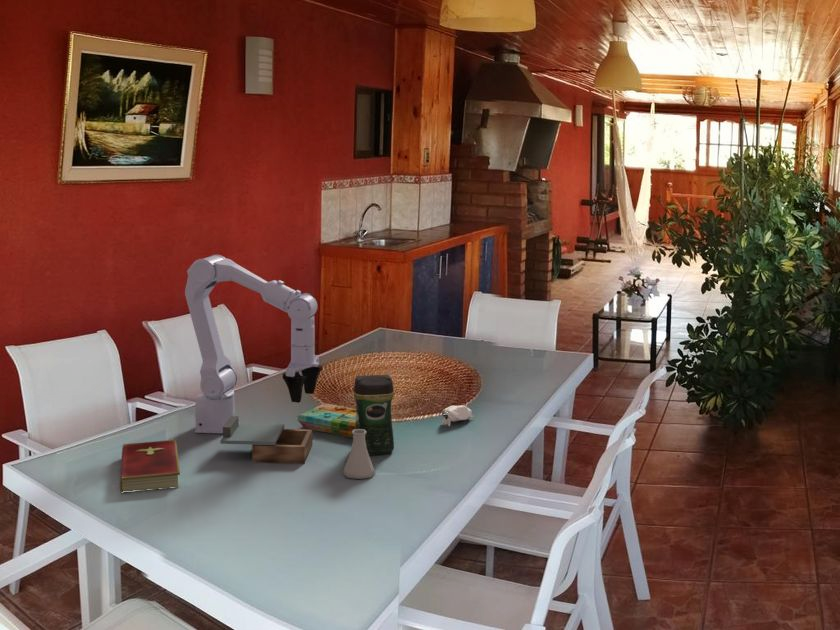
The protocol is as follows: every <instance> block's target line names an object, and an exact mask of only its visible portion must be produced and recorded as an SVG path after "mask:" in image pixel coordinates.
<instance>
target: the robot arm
mask: <svg viewBox="0 0 840 630" xmlns="http://www.w3.org/2000/svg"><path fill="white" fill-rule="evenodd" d="M186 273H187V281H186V283H185V284H186V285H185V289H184V296H185V299H186V303H187V307H188V310H189V311H188V312H189V314H190V318H191V322H192V327H193V329H194V333H195V337H196V341H197V344H198V349H199V352H200V356H201V360H202V362H201V363H202V364H201V367H200V369H199V374H200V383H199V387H200V390H201V392H202V394H198V395H197V397H196V400H195V404H194V410H195V411H194V413H195V415H194V417H195V430H194V433H196V434H198V433H199V434H223V426H224V425H225V423H226V422H227V421H228V420H229V418H230V417H231V416H236V415H235V414H236V412H235V411H236V409H235V391H234V388H235V386H236V385H237V383H238V380H239V377H238V372H237V371H236V370H235V368H234V366H232V363H231V360H230V359H229V358H228V357H227V356H226V355H225V353H224V350H223V346H222V342H221V337H220V335H219V331H218V326H217V322H216V319H215V315H214V311H213V308H212V303H211V299H210V296H209V295H210V293H211V292H212V291H213V289H214V288H215V287H216V285H217V284H218V283H221V282H222V283H223V282H230V281H231V282H234V283H236V284H238V285H241V286H242V287H246V288H247V289H249V290H251V291H254V292H256V293H259V294H260V296H261V297H262V300H263V301H264V302H265V303H267V304H269V305H272V306H273V307H275V308H277V309H279V310H281V311H282V312H284V313H287V315H288V317H289V318H290V321H291V322H290V324H291V325H290V328H291V329H290V350H291V351H290V357H291V358H290V361H289V364H288V366H287V367H286V368H285V372H284V373H282V379H283V381H284V382H285V385H286V387H287V389H288V392H289V393H288V394H289V397H290V401H291V402H292V403H299V404H300V403H301V401H302V395H303V388H304V393H305V394H307V395H314V394H315V390H316V386H317V382H318V379H319V376H320V373H321V372H322V369H323V364H320V355H318V354H315V350H316V349H315V348H316V347H315V344H316V342H315V336H316V335H315V332H316V329H315V314H316V313H317V311H318V308H319V307H318V302H317V300H316V298H315V297H313V295H311V293H306V292H305V293H302V291H301V290H299V289H296V290H295V289H293V288H291V287H289V286H288V285H285V281H282V280H281V279H279V280H275V279H273V280H271V281H267V280H266V279H263V278H262V277H260V276H258V275H257V274H255V273H253V272H252V271H249V270H248V269H246V268H245V267H243V266H241V265H239V264H238V263H236V262H235V261H233V260H232V259H230V258H226V257H225V256H223V255H220V254H212V255H210V256H207V257H205V258H199V259H196V260H195V261H193V263H192V264H191V265H190V267H189V268H188V269H187V271H186ZM300 372H301V374H300Z"/></svg>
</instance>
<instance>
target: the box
mask: <svg viewBox="0 0 840 630" xmlns="http://www.w3.org/2000/svg"><path fill="white" fill-rule="evenodd" d="M312 447H313V430H312V429H307V428H303V429H302V428H298V429H297V428H284V429H283V431H282V433H281V435H280V436H279V438H278V440H277V442H276V444H275V445H251V452H252V453H251V455H252V458H251V460H252V463H265V464H266V463H270V464H271V463H272V464H273V463H275V464H276V463H277V464H300V465H301V464H305V463H306V462H307V459H308V457H309V455H310V452H311V449H312Z"/></svg>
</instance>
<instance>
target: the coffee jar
mask: <svg viewBox="0 0 840 630" xmlns="http://www.w3.org/2000/svg"><path fill="white" fill-rule="evenodd" d="M394 394H395V389H394V382H393V379H392V376H391V375H389V374H368V375H357V376H355V380H354V386H353V398H354V399H355V405H356V406H355V408H356V424H355V429H364V430H366V434H365V442H366V448H367V451H368V454H369V456H371V455H372V456H373V455H382V454H389V453H392V451H393V450H394V448H395V444H394V443H395V440H394V430H393V420H392V419H393V418H392V400H393V398H394Z"/></svg>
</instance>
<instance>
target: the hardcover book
mask: <svg viewBox="0 0 840 630" xmlns="http://www.w3.org/2000/svg"><path fill="white" fill-rule="evenodd" d="M120 462H121V465H120V475H119V476H120V478H119V489H120V493H121V492H123V491H133V490H147V489H159V488H170V487H178V488H179V475H180V473H181V472H180V465H179V462H180V461H179V455H178V443H177V439H173V440H172V439H169V440H168V439H167V440H158V441H157V440H155V441H144V442H135V443H134V442H130V443H124V444H123V445H122V449H121V461H120Z"/></svg>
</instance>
